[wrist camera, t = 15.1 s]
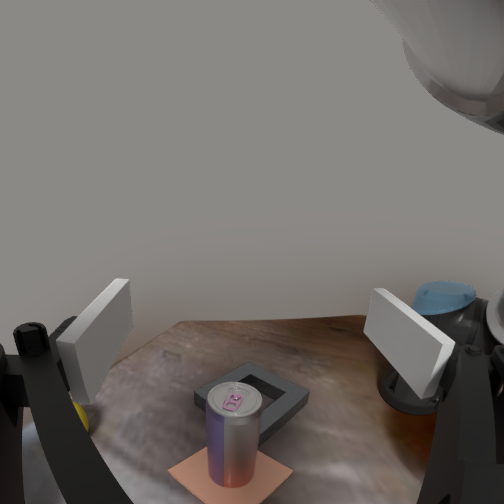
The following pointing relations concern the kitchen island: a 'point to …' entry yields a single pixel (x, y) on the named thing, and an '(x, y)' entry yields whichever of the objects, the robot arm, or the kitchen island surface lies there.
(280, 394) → the socket block
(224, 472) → the beverage can
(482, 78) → the robot arm
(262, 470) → the terracotta tile
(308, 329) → the kitchen island surface
